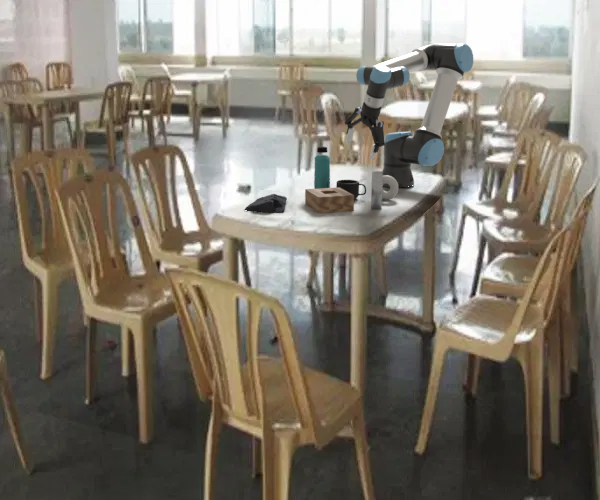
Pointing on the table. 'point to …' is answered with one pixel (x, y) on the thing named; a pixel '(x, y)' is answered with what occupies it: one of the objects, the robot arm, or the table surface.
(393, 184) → the donut
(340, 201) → the block
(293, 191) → the table surface
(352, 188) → the mug
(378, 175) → the pin
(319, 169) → the beverage bottle
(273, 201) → the dark slate chunk
